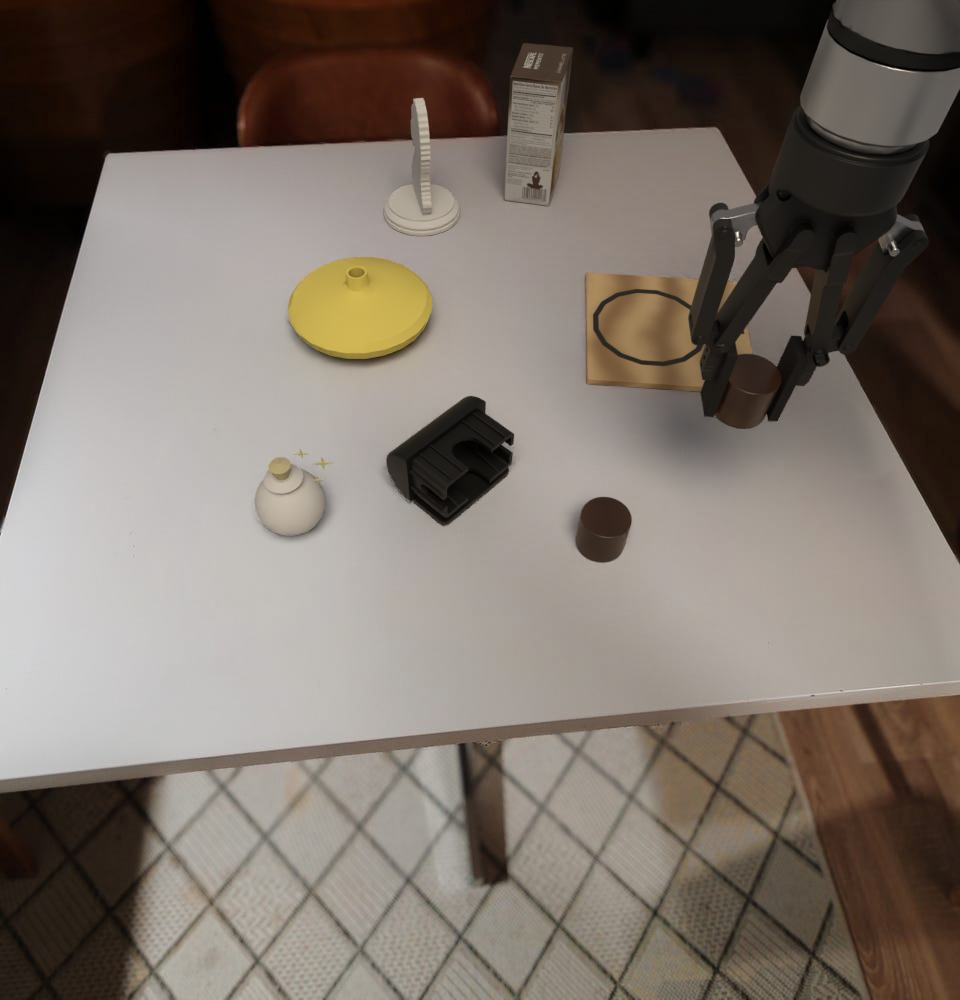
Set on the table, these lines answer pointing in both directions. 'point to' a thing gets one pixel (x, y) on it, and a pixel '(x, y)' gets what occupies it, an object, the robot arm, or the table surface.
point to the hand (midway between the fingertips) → (738, 406)
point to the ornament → (290, 498)
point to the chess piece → (421, 189)
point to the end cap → (452, 460)
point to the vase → (360, 307)
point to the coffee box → (536, 122)
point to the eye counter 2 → (749, 392)
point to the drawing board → (644, 332)
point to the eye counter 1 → (603, 529)
